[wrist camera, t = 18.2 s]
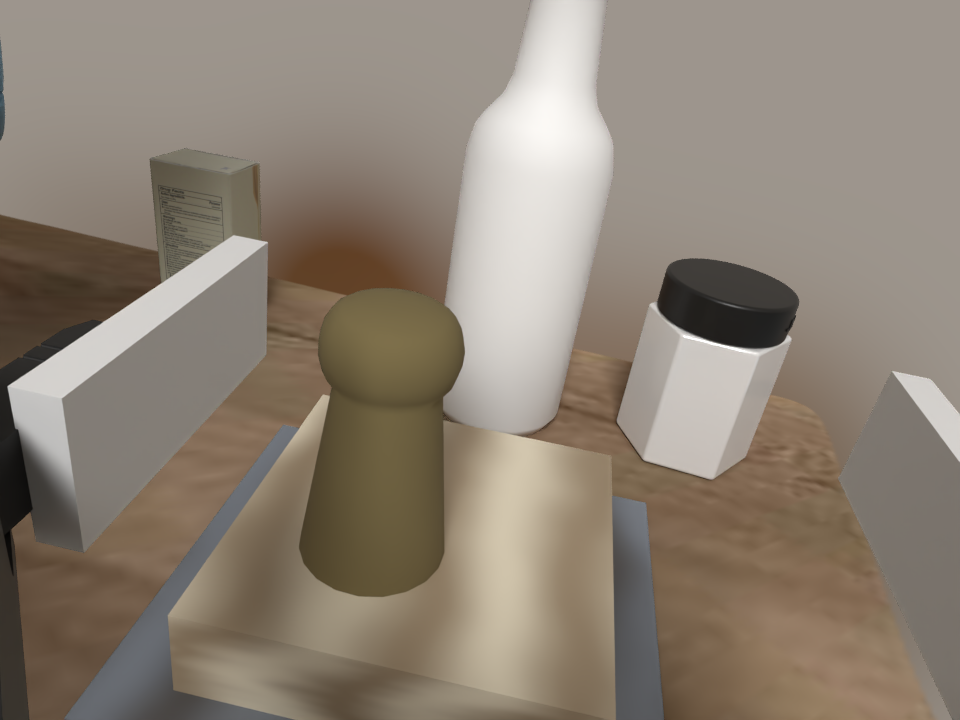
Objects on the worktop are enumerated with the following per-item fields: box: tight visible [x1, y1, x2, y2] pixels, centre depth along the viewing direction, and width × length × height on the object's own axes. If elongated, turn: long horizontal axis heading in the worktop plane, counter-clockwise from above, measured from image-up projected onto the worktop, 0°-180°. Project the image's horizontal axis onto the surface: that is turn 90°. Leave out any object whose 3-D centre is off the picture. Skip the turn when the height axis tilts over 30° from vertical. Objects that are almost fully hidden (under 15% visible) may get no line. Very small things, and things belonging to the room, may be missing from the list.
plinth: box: [64, 395, 664, 720], centre depth 33 cm, size 22×20×5 cm
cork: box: [299, 288, 465, 597], centre depth 28 cm, size 6×6×11 cm
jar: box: [617, 259, 799, 480], centre depth 47 cm, size 9×8×12 cm
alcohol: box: [443, 0, 614, 437], centre depth 44 cm, size 9×9×30 cm
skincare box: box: [150, 149, 261, 283], centre depth 53 cm, size 6×4×12 cm
